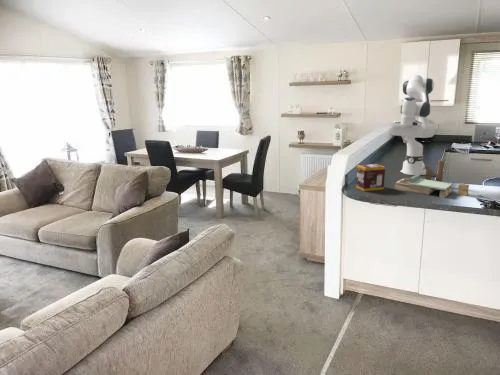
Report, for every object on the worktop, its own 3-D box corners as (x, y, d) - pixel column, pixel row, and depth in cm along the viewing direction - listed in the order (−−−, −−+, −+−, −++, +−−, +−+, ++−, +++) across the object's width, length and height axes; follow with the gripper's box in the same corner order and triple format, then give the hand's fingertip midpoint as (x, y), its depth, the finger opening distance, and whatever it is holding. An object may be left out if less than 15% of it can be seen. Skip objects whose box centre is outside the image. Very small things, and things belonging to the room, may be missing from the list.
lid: (416, 179, 266) (417, 173, 265) (452, 184, 251) (453, 178, 250) (408, 184, 254) (409, 178, 253) (445, 190, 240) (446, 183, 239)
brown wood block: (459, 193, 250) (460, 183, 248) (467, 194, 247) (469, 184, 245) (457, 194, 247) (458, 184, 245) (466, 196, 244) (467, 186, 242)
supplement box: (355, 187, 267) (356, 165, 263) (375, 185, 271) (376, 163, 267) (363, 191, 257) (364, 168, 253) (383, 189, 261) (385, 166, 257)
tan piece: (403, 184, 272) (403, 178, 271) (451, 192, 253) (452, 185, 251) (394, 189, 261) (395, 182, 260) (444, 197, 241) (445, 190, 240)
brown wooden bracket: (424, 184, 272) (427, 159, 267) (441, 186, 267) (444, 160, 263) (424, 185, 269) (427, 159, 264) (441, 187, 264) (444, 161, 260)
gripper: (390, 121, 266) (388, 142, 270) (421, 123, 253) (419, 144, 257) (394, 121, 271) (392, 141, 274) (424, 122, 258) (422, 143, 261)
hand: (405, 142), depth 265 cm, fingers closed
